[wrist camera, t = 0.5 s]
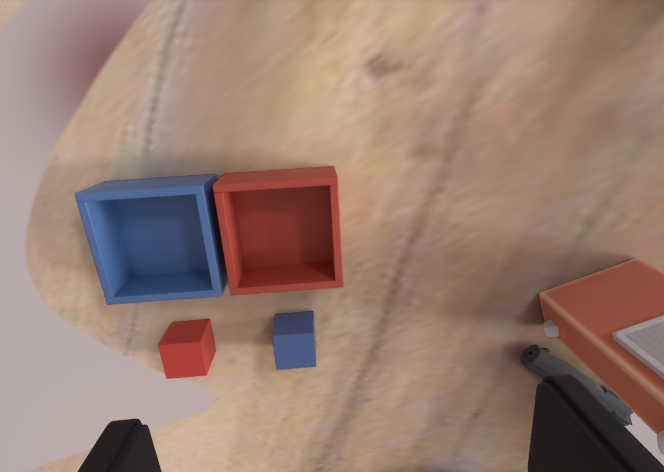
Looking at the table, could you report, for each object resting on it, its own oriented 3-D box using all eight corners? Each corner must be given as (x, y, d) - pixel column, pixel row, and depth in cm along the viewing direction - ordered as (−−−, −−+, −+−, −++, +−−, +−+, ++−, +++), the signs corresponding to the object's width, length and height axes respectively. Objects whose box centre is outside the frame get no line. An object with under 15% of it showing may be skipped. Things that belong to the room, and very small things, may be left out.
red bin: (224, 173, 41) (212, 184, 35) (334, 166, 41) (337, 176, 36) (239, 272, 45) (230, 295, 39) (339, 264, 45) (343, 287, 40)
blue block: (275, 313, 47) (272, 336, 42) (313, 310, 47) (313, 332, 43) (279, 345, 48) (276, 370, 44) (315, 342, 48) (316, 366, 44)
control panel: (651, 293, 49) (536, 333, 50) (646, 246, 46) (526, 289, 47) (891, 432, 29) (690, 494, 30) (904, 362, 26) (685, 432, 27)
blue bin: (104, 181, 40) (73, 193, 35) (216, 173, 40) (202, 185, 35) (131, 280, 44) (106, 305, 39) (232, 272, 44) (221, 296, 39)
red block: (171, 321, 46) (157, 345, 42) (210, 318, 46) (200, 341, 42) (179, 353, 48) (166, 379, 44) (216, 350, 48) (207, 375, 44)
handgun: (473, 396, 54) (533, 337, 50) (570, 451, 58) (633, 399, 54) (480, 413, 51) (545, 351, 48) (582, 469, 55) (648, 416, 52)
